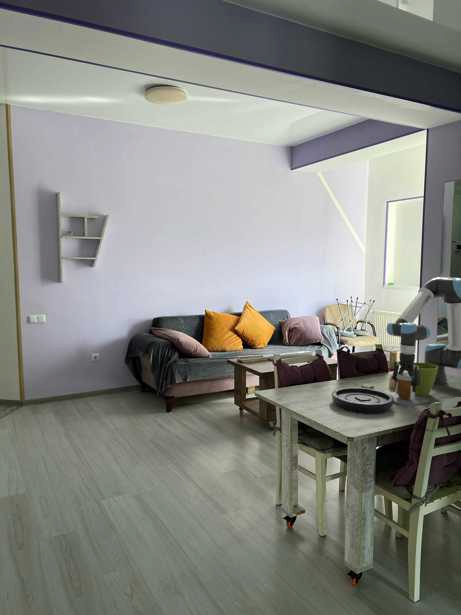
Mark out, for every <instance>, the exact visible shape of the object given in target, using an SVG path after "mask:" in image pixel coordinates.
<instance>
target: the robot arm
mask: <svg viewBox="0 0 461 615" xmlns="http://www.w3.org/2000/svg"><path fill="white" fill-rule="evenodd" d="M437 298H443V303H445V304H446V315H447V316H446V317H447V332H448V334H447V337H448V344H446V343H428V344H426V345H425V347H424V348H425V349H424V360H423V361H424V362H423V363H428V364H433V365H436V366H438V371H437V375H436V378H435V381H434V384H433V385H446V384H448V377H447V374H446V373H447V372H446V368H449V369H450V368H451V369H455V370H457V371H461V277H442V276H438V277H435V278H432V279H430V280H428V281H427V282H425V283H424V284H423V285H422V286H421V287H420V288H419V289H418V291H417V295H416V296H415V297H414V299H413V300H412V301H411V302H410V303H409V305H407V306H406V307H405V309H404V310H403V312H402V313H401V314H400V316H398V318H397V319H396V320H395V321H390V322H388V323H387V325H386V333H387V334H388V335H390V336H393V337H399V338H400V343H399V352H400V353H399V358H398V359H399V360H398V361H394V362H393V363H394V368H393V372H392V375H393V376H392V379H394V380H395V387H396V389H395V394H398V382H397V377H396V376H397V374H398V373H399V374H403V373H405V371H406V373H409V376H410V377H412V381H411V383H412V385H411V390H410V398H415V396H416V394H415V392H416V386H418V385H420V375H419V368H420V366H416V365H415V364H414V363H415V361H416V350H417V349H416V346H417V345H416V344H417V343H416V342H417V341H421V340H422V341H423V340H426V339H428V338H430V337H431V329H430V328H429V326H427V325H425V324H423V325H422V324H420V325H417V324H416V323H415V322H414V321H415V320H416V319H417V318H418V317H419V316H420V314H421V313H422V312H423V310H424V309H425V308H426V307H427V306H428V305H429V303H430V302H432V301H434V299H437ZM413 368H414V370H413ZM414 375H415V376H414ZM413 376H414V377H413Z"/></svg>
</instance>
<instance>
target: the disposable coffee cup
mask: <svg viewBox="0 0 461 615" xmlns="http://www.w3.org/2000/svg"><path fill="white" fill-rule="evenodd" d="M414 376H415V375H414ZM414 376H413V377H414ZM396 377H397V382H398V396H399V397H400V398H403V399H410V390H411V385H412V383H411V381H412V377H410V376H409V373H408V372H403V374H399V373H398V374H397V376H396Z"/></svg>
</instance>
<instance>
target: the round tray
mask: <svg viewBox="0 0 461 615" xmlns="http://www.w3.org/2000/svg"><path fill="white" fill-rule="evenodd" d="M392 395H393V394H390V393H389V392H388V393H387V392H385V391H383V390H379V389H376V388H374V389H371V388H361V386H360V387H358V386H357V387H356V386H352V387H351V386H350V387H349V386H348V387H347V386H346V387H339V388H337V389H334V390H333V391H332V392H331V399H332V402H333V404H334V405H335V406H336V407H337V408H338V407H339V408H338V409H340V408H341V409H340V410H342V409H343V411H345V410H346V411H345V412H349V411H350V412H349V413H353V412H355V414H359V413H362V415H380V413H382V414H385V412H386V413H388V412H390V410H391V409H392V408H393V405H394V403H393V402H394V398H393V396H392Z"/></svg>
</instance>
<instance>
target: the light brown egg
mask: <svg viewBox="0 0 461 615" xmlns="http://www.w3.org/2000/svg"><path fill="white" fill-rule="evenodd" d="M392 376H393V374H390V375H389V380H388V381H389V382H388V387H389V389H392V390H396V387H395V380H394V379H392Z"/></svg>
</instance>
